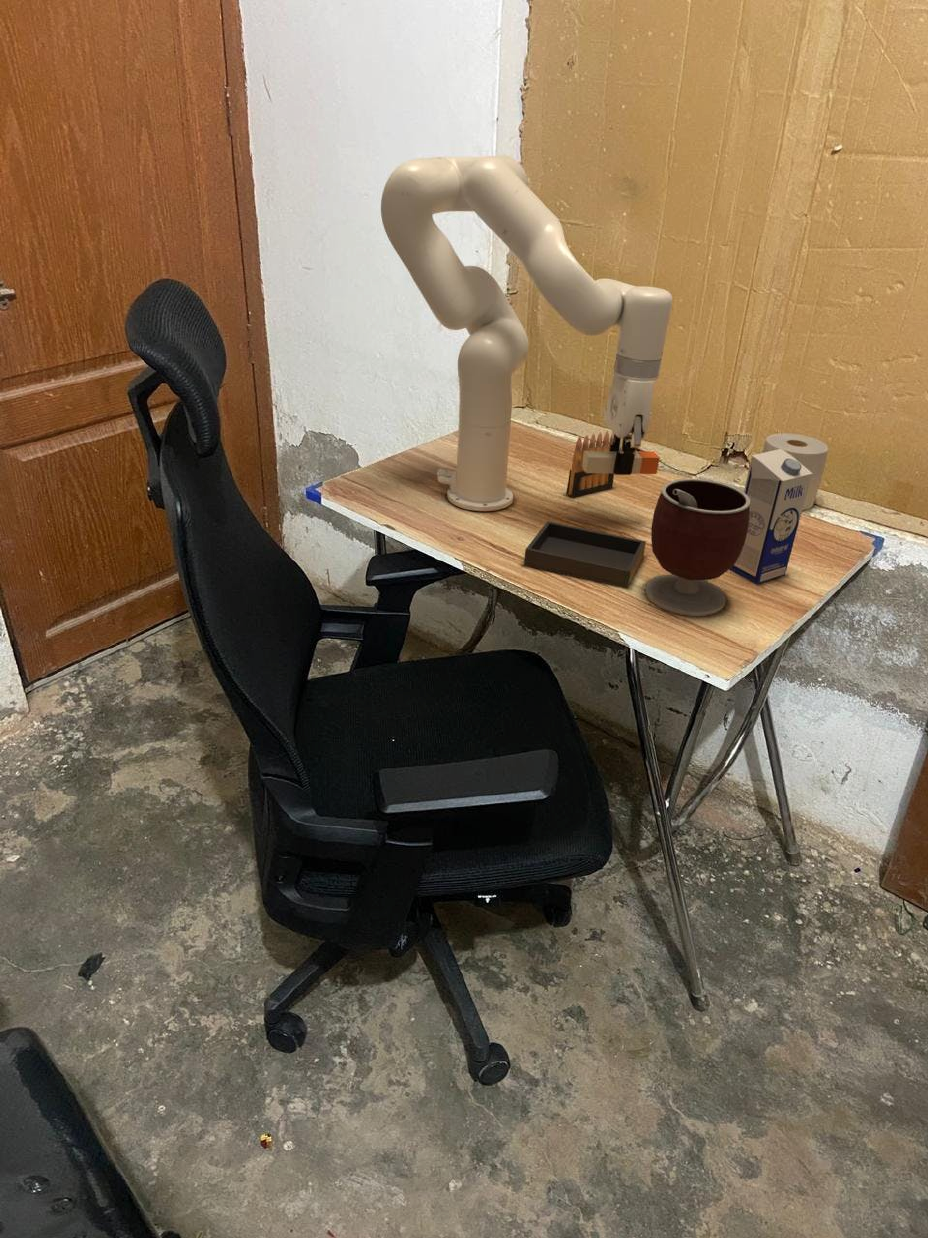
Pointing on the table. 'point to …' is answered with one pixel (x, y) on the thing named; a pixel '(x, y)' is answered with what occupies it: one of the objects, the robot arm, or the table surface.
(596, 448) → the ammunition clip
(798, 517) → the milk carton
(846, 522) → the table surface
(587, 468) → the rectangular block
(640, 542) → the tray
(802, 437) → the toilet paper roll
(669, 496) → the mate gourd
